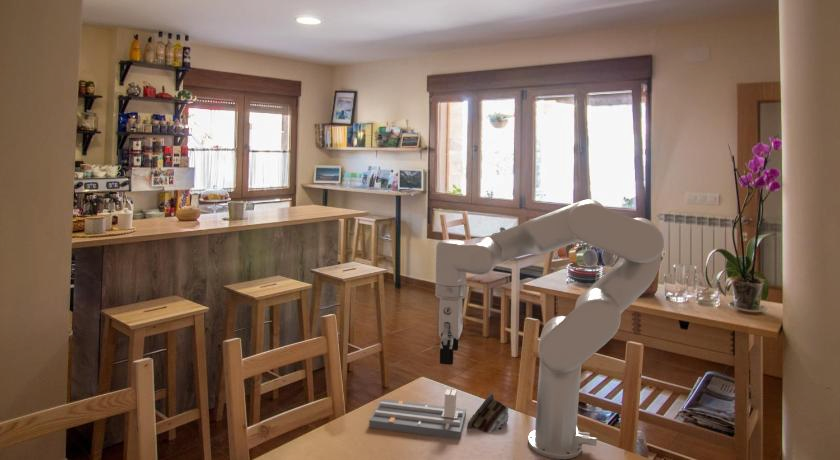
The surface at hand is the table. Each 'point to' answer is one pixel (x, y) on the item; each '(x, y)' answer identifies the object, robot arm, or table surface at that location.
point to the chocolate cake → (489, 415)
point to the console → (416, 419)
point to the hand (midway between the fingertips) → (449, 356)
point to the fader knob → (450, 405)
